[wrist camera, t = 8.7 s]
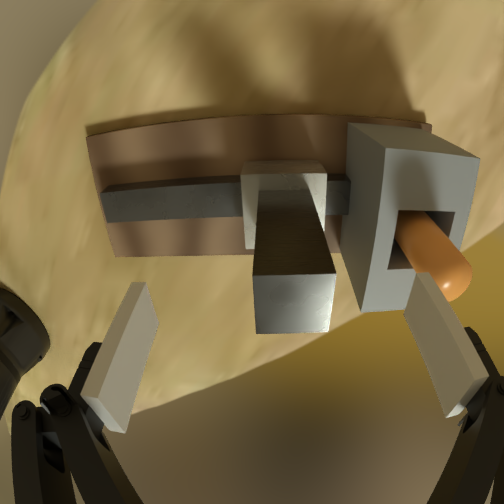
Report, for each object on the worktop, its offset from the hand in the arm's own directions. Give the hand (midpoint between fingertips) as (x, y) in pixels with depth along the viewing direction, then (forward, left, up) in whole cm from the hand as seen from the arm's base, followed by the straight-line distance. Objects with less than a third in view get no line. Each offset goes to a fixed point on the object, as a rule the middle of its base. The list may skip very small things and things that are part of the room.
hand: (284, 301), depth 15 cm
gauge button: (+9, 0, -9) cm, 13 cm away
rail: (-5, 0, -14) cm, 15 cm away
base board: (-2, 0, -15) cm, 15 cm away
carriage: (0, 0, -14) cm, 14 cm away
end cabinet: (+9, 0, -14) cm, 17 cm away
